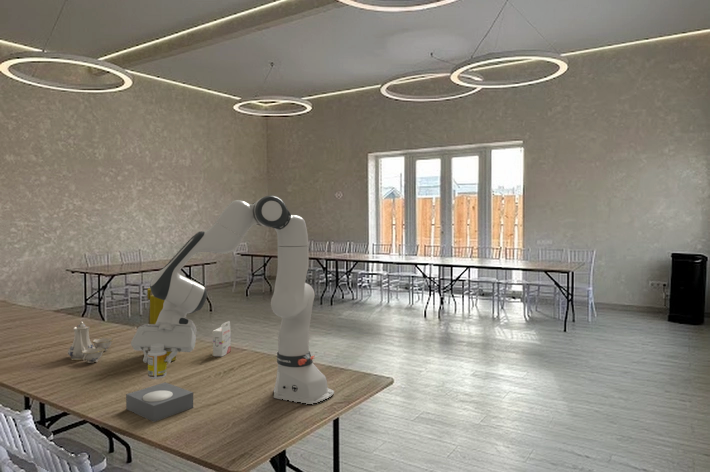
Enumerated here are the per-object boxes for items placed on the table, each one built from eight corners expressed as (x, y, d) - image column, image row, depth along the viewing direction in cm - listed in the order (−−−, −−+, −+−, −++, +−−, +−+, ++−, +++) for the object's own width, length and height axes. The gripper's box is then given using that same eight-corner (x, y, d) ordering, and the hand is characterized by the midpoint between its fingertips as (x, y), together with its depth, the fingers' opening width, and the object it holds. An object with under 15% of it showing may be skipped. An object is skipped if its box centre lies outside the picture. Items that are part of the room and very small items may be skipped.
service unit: (193, 407, 156) (193, 391, 156) (153, 422, 144) (153, 405, 144) (164, 395, 165) (164, 381, 165) (125, 408, 154) (125, 392, 154)
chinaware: (104, 368, 200) (109, 329, 200) (59, 368, 194) (64, 328, 194) (112, 350, 226) (116, 316, 226) (73, 350, 220) (76, 314, 220)
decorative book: (176, 361, 205) (176, 292, 204) (149, 364, 200) (148, 294, 199) (172, 349, 223) (172, 286, 222) (147, 352, 218) (146, 287, 217)
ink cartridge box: (221, 351, 221) (221, 320, 221) (231, 351, 220) (230, 320, 220) (212, 356, 213) (212, 324, 213) (222, 357, 212) (222, 324, 212)
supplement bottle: (168, 373, 155) (168, 342, 154) (163, 379, 149) (163, 347, 149) (151, 373, 154) (151, 342, 154) (145, 379, 149) (145, 347, 148)
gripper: (136, 318, 158) (120, 356, 149) (196, 320, 157) (184, 358, 148) (143, 328, 163) (128, 365, 154) (201, 330, 162) (190, 367, 153)
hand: (156, 362), depth 151 cm, fingers closed on supplement bottle, 6 cm apart
